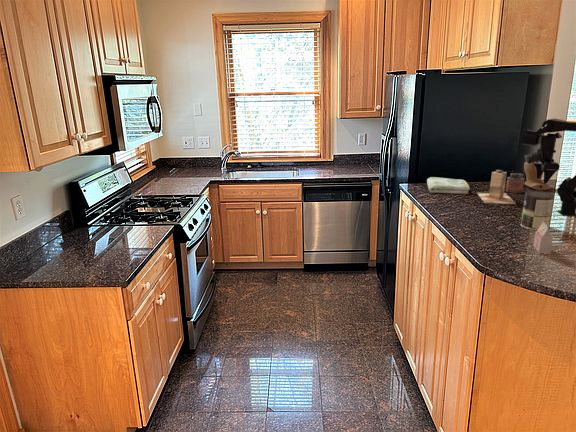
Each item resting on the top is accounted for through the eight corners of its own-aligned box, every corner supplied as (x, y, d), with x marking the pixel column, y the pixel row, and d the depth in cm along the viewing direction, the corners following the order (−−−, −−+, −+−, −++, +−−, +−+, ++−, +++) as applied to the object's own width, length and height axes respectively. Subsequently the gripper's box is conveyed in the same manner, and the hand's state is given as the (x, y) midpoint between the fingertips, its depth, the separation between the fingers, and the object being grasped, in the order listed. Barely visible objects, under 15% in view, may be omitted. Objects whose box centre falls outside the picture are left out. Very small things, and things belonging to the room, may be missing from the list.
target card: (515, 204, 211) (516, 202, 211) (485, 203, 213) (485, 201, 213) (505, 194, 228) (505, 193, 227) (477, 193, 230) (477, 192, 230)
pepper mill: (498, 199, 217) (502, 171, 213) (488, 197, 221) (492, 170, 216) (503, 197, 220) (506, 170, 216) (493, 195, 224) (497, 168, 219)
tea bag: (544, 247, 159) (548, 221, 156) (550, 254, 153) (554, 228, 150) (533, 246, 160) (537, 221, 157) (538, 254, 154) (543, 227, 151)
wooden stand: (518, 184, 248) (522, 158, 243) (540, 184, 246) (545, 158, 241) (526, 190, 234) (531, 163, 229) (550, 191, 232) (555, 163, 227)
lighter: (505, 191, 233) (508, 173, 230) (505, 190, 236) (508, 172, 233) (522, 193, 230) (525, 174, 227) (522, 191, 233) (525, 173, 230)
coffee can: (517, 227, 180) (522, 194, 175) (523, 221, 187) (528, 189, 183) (545, 232, 174) (551, 198, 169) (550, 225, 181) (556, 193, 177)
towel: (470, 194, 230) (471, 185, 229) (428, 193, 235) (429, 184, 233) (465, 186, 247) (465, 177, 246) (426, 185, 252) (426, 176, 250)
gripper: (521, 143, 206) (516, 175, 211) (534, 150, 189) (529, 185, 194) (547, 144, 204) (541, 176, 209) (563, 151, 187) (556, 186, 191)
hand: (541, 180), depth 201 cm, fingers open, 9 cm apart
